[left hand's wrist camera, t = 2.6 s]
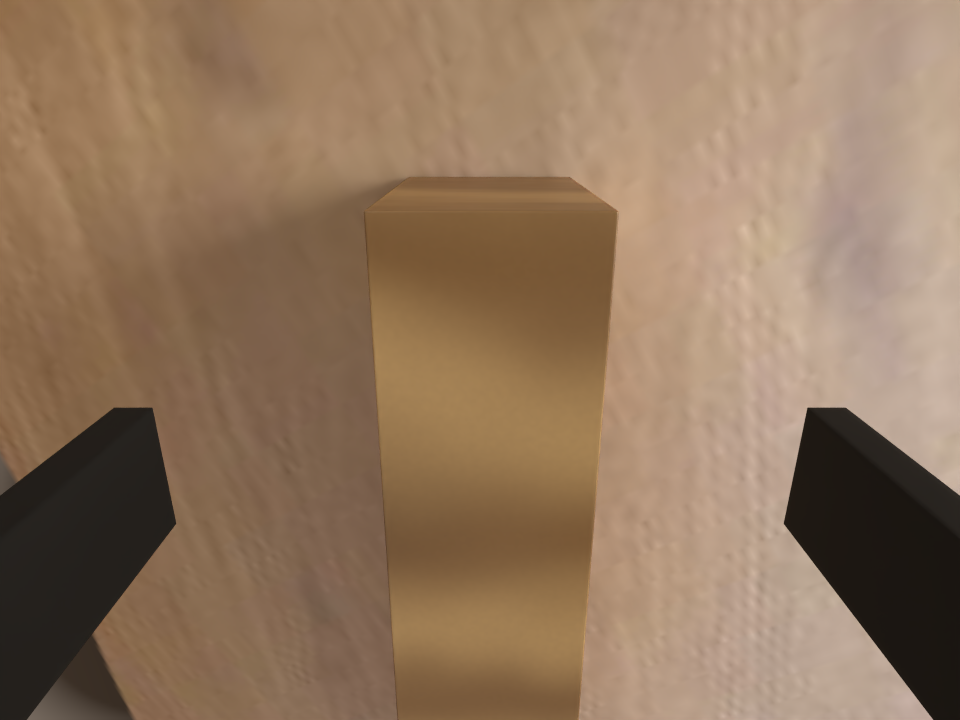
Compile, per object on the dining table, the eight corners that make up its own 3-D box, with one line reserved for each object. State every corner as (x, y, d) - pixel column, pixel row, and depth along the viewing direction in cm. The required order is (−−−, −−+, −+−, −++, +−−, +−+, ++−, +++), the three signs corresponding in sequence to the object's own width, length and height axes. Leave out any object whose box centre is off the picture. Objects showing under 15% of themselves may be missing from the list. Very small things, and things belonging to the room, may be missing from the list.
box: (408, 176, 23) (363, 210, 14) (570, 176, 23) (619, 210, 14) (430, 722, 33) (411, 926, 24) (542, 722, 32) (562, 928, 24)
